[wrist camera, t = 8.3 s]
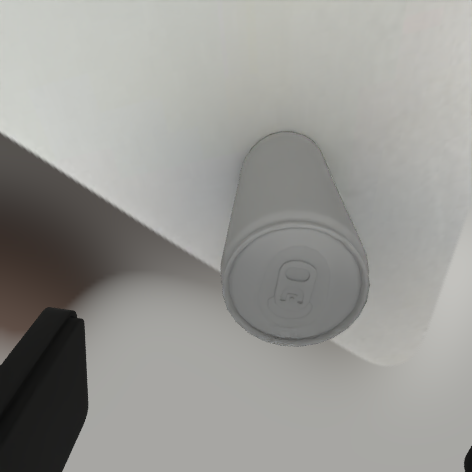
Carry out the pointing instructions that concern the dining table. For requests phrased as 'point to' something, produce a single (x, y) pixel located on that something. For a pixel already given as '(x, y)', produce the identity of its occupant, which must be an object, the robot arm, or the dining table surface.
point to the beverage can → (292, 247)
